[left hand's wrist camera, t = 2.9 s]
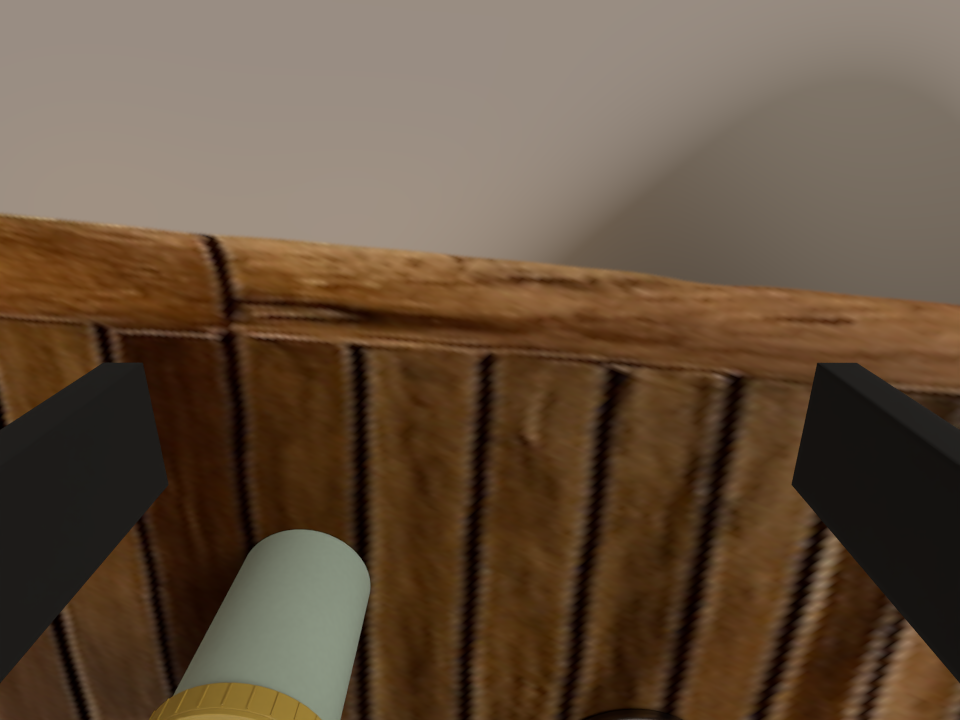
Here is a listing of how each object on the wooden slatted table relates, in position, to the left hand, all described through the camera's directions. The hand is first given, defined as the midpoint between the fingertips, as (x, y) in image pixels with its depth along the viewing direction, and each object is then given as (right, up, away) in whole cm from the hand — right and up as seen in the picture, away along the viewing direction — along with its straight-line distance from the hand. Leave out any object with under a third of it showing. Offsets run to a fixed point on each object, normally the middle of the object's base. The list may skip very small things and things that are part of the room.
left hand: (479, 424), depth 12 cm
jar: (-14, -16, +36) cm, 42 cm away
